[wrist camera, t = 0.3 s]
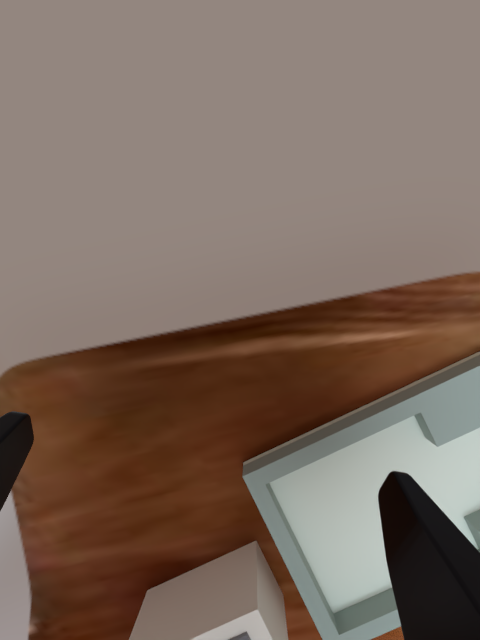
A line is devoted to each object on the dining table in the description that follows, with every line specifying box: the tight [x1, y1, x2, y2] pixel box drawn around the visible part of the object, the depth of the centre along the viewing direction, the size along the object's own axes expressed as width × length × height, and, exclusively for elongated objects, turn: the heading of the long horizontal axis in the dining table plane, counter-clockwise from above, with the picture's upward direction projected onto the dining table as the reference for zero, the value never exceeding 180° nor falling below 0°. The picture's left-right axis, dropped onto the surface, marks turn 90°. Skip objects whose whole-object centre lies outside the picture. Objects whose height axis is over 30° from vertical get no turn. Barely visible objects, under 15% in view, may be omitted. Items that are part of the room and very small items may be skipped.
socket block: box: [129, 541, 288, 640], centre depth 21 cm, size 4×8×6 cm, turn 116°
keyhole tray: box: [243, 351, 480, 640], centre depth 22 cm, size 12×19×2 cm, turn 116°
